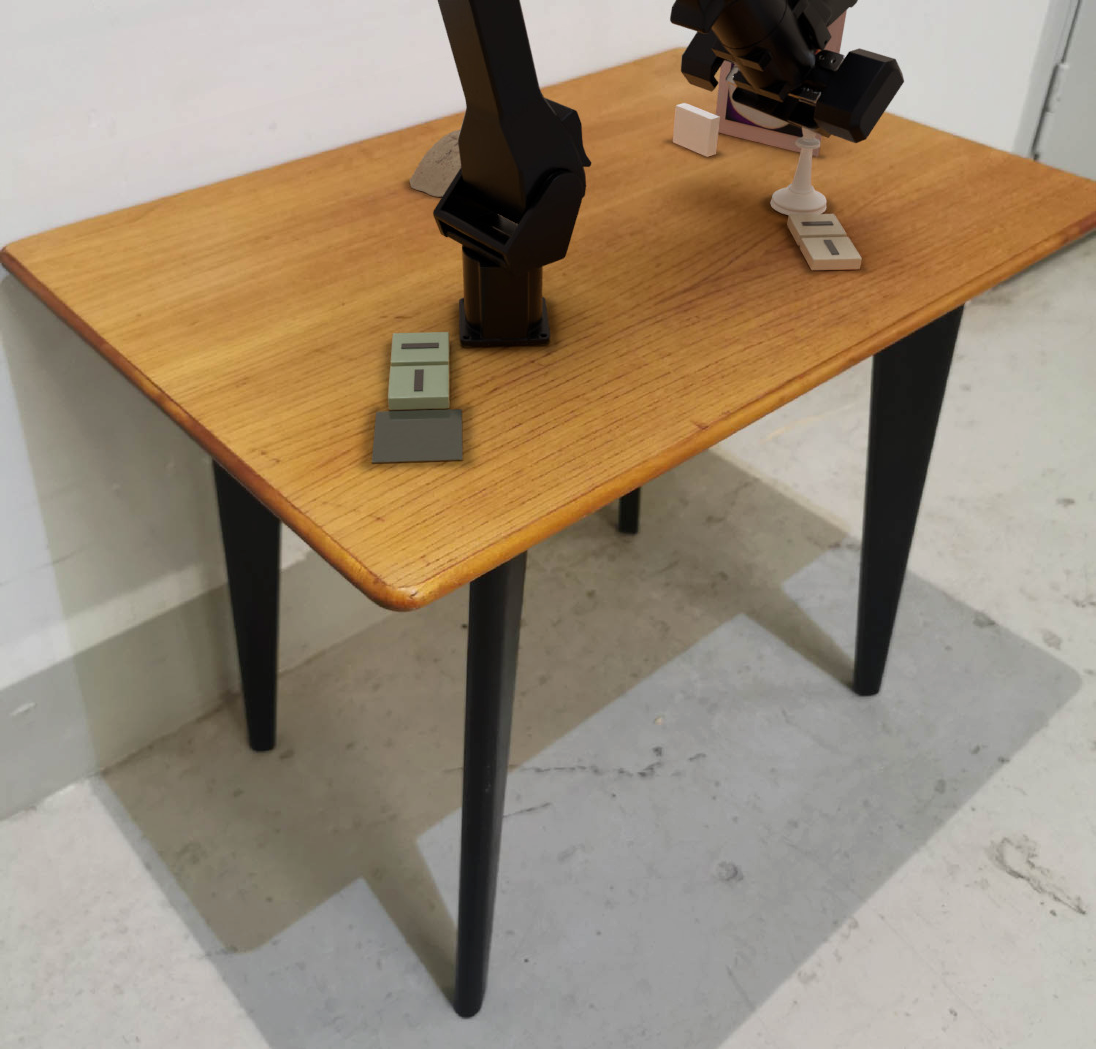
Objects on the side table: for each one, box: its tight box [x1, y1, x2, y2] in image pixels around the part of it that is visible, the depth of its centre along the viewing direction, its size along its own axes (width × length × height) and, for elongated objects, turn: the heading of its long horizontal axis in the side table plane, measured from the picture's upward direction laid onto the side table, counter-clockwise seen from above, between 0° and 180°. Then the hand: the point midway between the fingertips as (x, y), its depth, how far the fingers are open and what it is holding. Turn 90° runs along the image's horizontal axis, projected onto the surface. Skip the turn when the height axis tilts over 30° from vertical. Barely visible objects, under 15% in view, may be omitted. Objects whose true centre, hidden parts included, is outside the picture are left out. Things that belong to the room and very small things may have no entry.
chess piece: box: [769, 127, 827, 216], centre depth 97 cm, size 5×5×10 cm
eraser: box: [672, 102, 720, 158], centre depth 109 cm, size 1×5×4 cm, turn 39°
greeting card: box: [715, 9, 848, 158], centre depth 108 cm, size 11×7×15 cm, turn 55°
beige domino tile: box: [786, 213, 863, 271], centre depth 93 cm, size 8×4×1 cm, turn 4°
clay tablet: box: [409, 129, 461, 198], centre depth 105 cm, size 14×10×3 cm
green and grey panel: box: [371, 331, 464, 464], centre depth 75 cm, size 14×6×1 cm, turn 4°
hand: (820, 128), depth 96 cm, fingers closed on chess piece
